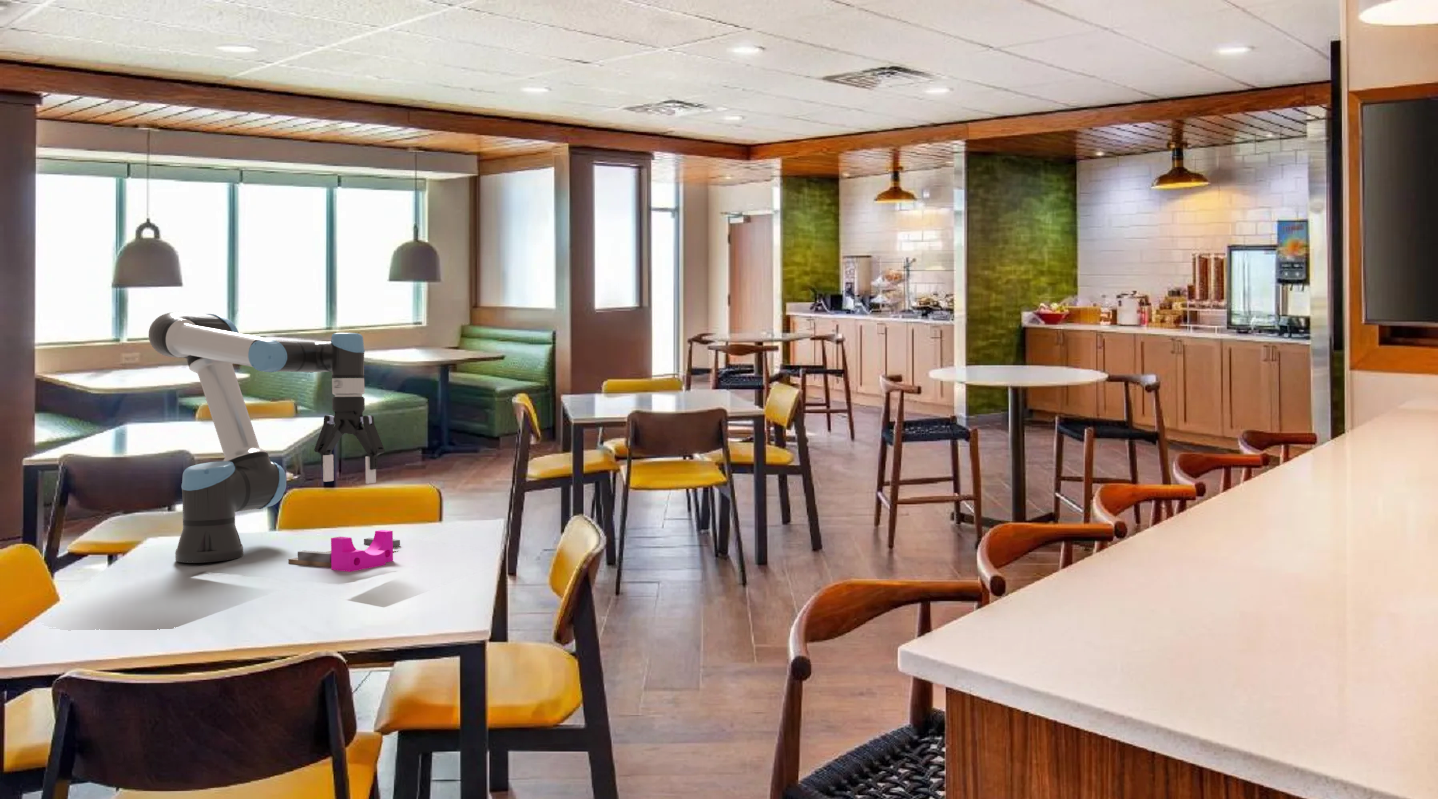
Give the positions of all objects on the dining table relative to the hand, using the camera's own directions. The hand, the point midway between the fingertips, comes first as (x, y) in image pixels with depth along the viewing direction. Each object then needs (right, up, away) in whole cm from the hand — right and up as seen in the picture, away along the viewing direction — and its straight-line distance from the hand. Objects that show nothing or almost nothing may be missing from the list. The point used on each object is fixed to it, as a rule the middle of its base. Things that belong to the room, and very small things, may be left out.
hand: (349, 482), depth 262 cm
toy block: (+8, -19, -11) cm, 23 cm away
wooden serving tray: (0, -19, 0) cm, 19 cm away
